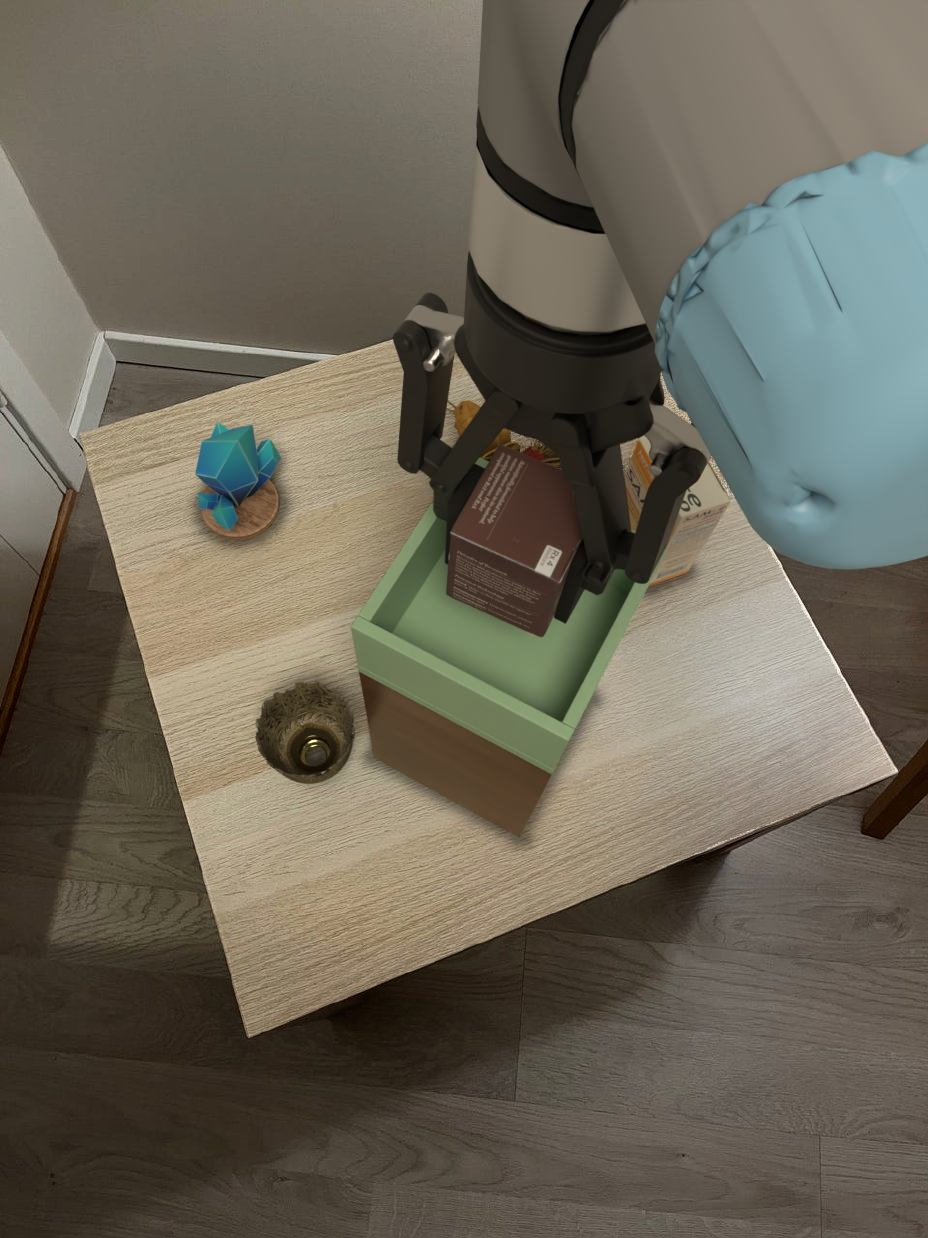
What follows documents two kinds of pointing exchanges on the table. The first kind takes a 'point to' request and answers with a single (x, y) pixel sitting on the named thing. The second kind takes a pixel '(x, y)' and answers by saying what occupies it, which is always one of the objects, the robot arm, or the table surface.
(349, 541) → the table surface
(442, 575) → the basket
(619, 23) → the robot arm
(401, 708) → the stand
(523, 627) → the box
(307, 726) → the bronze rounded hollow piece
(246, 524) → the gemstone
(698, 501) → the supplement box
